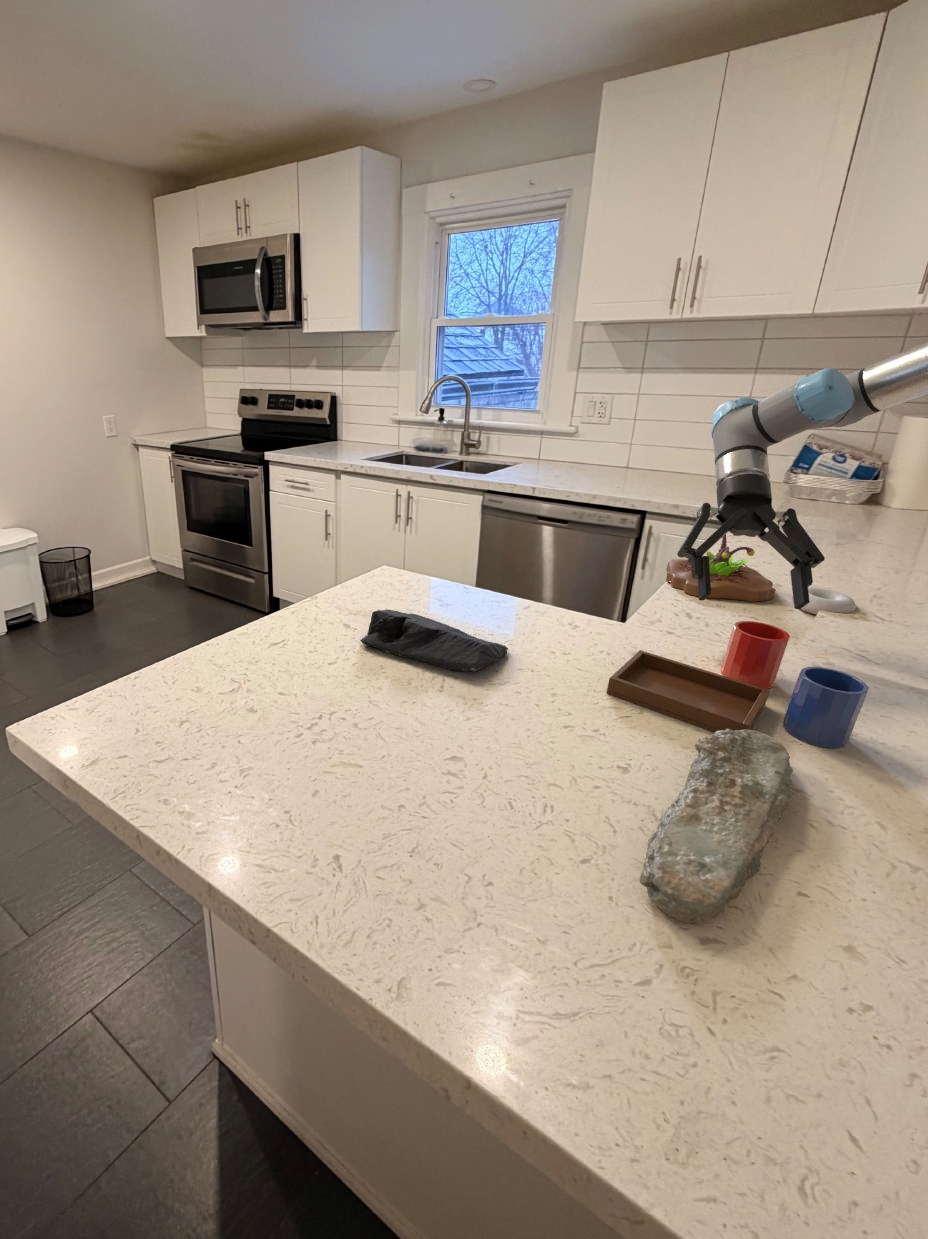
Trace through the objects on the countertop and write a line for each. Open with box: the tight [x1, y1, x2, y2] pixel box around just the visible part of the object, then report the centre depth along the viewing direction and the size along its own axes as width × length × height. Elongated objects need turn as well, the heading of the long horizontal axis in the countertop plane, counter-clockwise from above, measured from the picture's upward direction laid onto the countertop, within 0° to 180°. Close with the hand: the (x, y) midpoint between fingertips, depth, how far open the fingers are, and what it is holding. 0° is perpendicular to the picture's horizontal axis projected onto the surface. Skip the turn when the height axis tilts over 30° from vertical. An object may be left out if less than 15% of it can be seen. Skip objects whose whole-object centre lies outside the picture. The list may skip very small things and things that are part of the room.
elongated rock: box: [639, 729, 794, 925], centre depth 67 cm, size 35×5×10 cm
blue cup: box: [782, 666, 870, 749], centre depth 83 cm, size 7×7×8 cm
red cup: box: [720, 620, 791, 690], centre depth 96 cm, size 7×7×8 cm
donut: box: [791, 586, 857, 616], centre depth 123 cm, size 10×4×10 cm
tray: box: [605, 649, 771, 733], centre depth 91 cm, size 18×13×3 cm
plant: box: [665, 533, 776, 603], centre depth 134 cm, size 20×20×11 cm
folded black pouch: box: [359, 609, 509, 672], centre depth 104 cm, size 15×22×5 cm
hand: (752, 601), depth 98 cm, fingers open, 13 cm apart
